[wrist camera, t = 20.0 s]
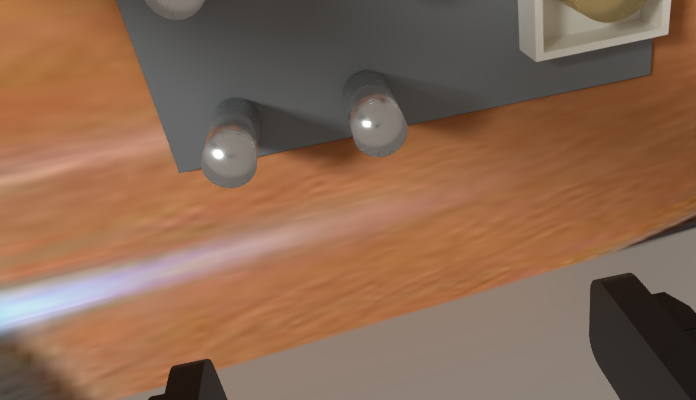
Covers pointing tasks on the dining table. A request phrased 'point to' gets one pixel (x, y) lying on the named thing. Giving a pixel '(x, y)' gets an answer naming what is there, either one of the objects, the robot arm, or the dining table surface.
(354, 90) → the spacers
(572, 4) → the nut
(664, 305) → the robot arm
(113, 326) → the dining table surface
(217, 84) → the mat
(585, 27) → the white square tray
